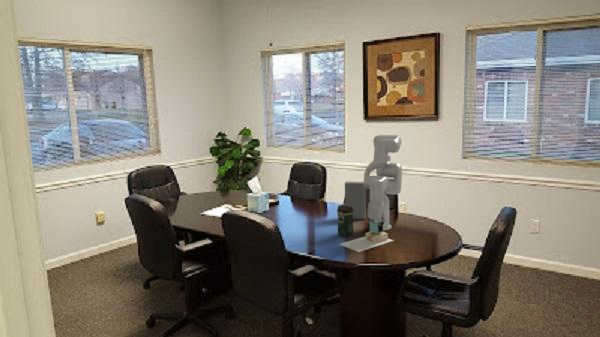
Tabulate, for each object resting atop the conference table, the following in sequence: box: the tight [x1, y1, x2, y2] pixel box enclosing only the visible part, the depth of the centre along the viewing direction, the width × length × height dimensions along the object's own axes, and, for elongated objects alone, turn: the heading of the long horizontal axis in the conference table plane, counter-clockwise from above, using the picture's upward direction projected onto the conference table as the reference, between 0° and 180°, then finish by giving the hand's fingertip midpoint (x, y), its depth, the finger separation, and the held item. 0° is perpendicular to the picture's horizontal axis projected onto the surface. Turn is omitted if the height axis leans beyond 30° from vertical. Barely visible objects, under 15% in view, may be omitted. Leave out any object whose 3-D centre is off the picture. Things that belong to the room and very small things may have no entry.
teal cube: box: [369, 220, 384, 233], centre depth 263 cm, size 6×6×6 cm
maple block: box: [365, 230, 389, 243], centre depth 264 cm, size 9×9×4 cm
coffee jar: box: [336, 204, 354, 238], centre depth 273 cm, size 10×8×19 cm
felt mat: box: [339, 235, 395, 253], centre depth 260 cm, size 16×28×1 cm, turn 127°
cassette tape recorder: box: [344, 181, 367, 220], centre depth 307 cm, size 14×6×25 cm, turn 80°
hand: (376, 230), depth 263 cm, fingers closed on teal cube, 5 cm apart
